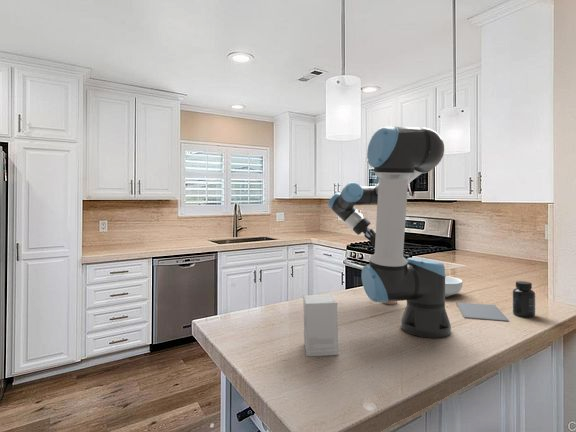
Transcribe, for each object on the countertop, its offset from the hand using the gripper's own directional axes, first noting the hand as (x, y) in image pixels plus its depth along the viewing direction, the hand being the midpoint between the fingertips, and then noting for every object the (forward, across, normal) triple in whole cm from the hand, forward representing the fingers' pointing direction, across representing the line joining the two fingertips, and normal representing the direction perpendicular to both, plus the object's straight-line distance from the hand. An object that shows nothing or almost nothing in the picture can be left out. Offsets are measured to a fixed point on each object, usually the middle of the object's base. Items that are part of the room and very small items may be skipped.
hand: (397, 260), depth 141 cm
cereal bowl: (+26, +18, -1) cm, 32 cm away
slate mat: (+34, -4, -9) cm, 35 cm away
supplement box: (-2, -52, +28) cm, 59 cm away
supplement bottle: (+44, -4, -18) cm, 47 cm away
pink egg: (+10, 0, +15) cm, 18 cm away
